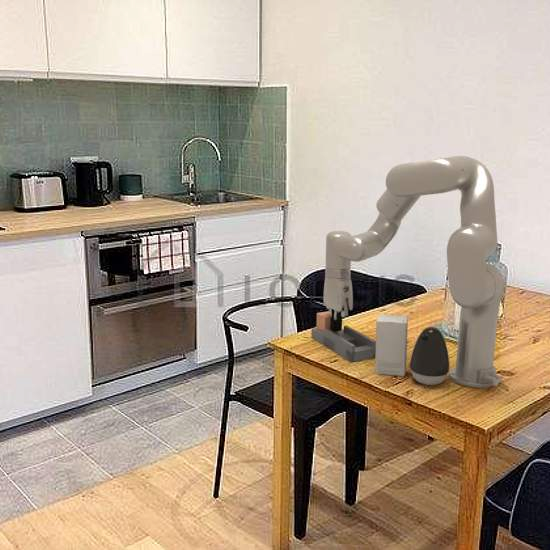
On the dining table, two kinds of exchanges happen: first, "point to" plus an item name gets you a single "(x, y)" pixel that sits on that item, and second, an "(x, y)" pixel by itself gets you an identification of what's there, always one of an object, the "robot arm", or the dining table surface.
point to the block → (323, 321)
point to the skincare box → (391, 344)
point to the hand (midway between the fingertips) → (336, 330)
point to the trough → (347, 343)
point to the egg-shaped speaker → (430, 357)
